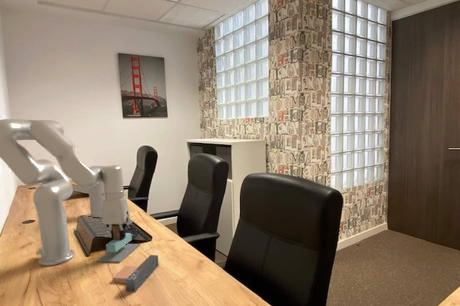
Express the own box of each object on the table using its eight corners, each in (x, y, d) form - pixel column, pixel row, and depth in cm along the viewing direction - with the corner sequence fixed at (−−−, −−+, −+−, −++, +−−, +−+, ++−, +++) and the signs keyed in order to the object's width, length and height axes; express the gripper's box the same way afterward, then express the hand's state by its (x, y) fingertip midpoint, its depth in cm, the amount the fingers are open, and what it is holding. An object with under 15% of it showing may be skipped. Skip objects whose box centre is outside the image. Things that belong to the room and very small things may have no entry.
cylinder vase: (86, 218, 170) (82, 177, 167) (100, 211, 182) (96, 173, 179) (104, 218, 167) (100, 176, 164) (117, 212, 179) (114, 173, 176)
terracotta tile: (113, 283, 97) (112, 277, 97) (126, 271, 105) (125, 265, 105) (134, 284, 95) (133, 278, 95) (146, 272, 103) (145, 266, 103)
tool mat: (96, 261, 112) (96, 260, 112) (119, 244, 128) (119, 243, 128) (119, 262, 110) (119, 261, 110) (140, 245, 126) (140, 244, 126)
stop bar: (126, 291, 91) (125, 279, 90) (151, 265, 107) (150, 255, 107) (135, 292, 90) (134, 280, 90) (158, 265, 107) (157, 255, 106)
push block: (106, 251, 113) (104, 230, 113) (123, 239, 125) (121, 219, 124) (115, 252, 113) (113, 230, 112) (131, 239, 124) (129, 219, 123)
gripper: (90, 198, 115) (95, 242, 116) (127, 198, 111) (131, 243, 113) (102, 193, 122) (106, 234, 124) (137, 193, 119) (141, 235, 121)
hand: (118, 238), depth 118 cm, fingers closed on push block, 3 cm apart
